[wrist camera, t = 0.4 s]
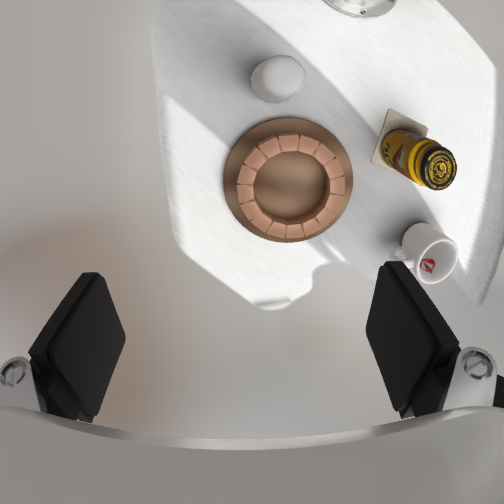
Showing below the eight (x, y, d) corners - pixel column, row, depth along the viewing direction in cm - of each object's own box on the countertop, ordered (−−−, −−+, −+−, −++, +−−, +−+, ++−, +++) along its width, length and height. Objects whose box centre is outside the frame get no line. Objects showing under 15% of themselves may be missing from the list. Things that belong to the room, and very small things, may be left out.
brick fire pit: (215, 124, 37) (212, 127, 34) (349, 115, 36) (357, 117, 33) (232, 244, 46) (231, 256, 43) (349, 234, 45) (356, 244, 42)
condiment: (370, 161, 39) (409, 186, 29) (388, 108, 35) (433, 116, 25) (409, 177, 40) (452, 206, 30) (427, 128, 36) (476, 143, 26)
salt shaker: (248, 64, 33) (247, 47, 22) (292, 60, 33) (311, 43, 21) (253, 105, 36) (255, 108, 25) (297, 101, 36) (319, 103, 24)
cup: (380, 266, 48) (398, 294, 41) (380, 223, 44) (401, 247, 37) (432, 254, 47) (454, 278, 40) (435, 213, 43) (461, 234, 36)
